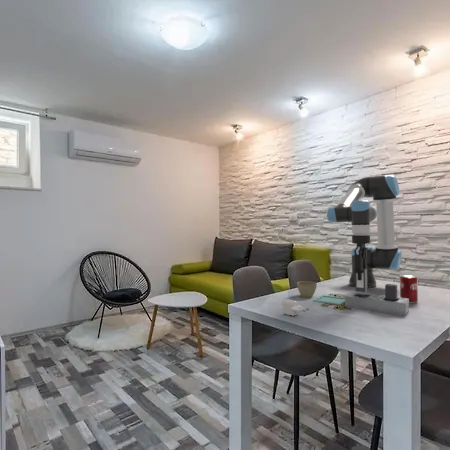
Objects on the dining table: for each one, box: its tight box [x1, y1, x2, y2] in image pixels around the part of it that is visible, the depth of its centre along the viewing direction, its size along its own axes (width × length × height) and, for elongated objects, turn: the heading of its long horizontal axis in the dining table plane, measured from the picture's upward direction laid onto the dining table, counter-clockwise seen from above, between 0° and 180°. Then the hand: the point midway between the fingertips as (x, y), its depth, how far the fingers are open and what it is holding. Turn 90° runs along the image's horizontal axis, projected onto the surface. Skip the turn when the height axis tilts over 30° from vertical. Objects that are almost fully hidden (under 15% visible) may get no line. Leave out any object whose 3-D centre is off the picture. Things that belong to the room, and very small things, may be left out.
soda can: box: [399, 274, 419, 304], centre depth 151 cm, size 7×7×12 cm
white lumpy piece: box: [281, 299, 310, 317], centre depth 131 cm, size 11×5×6 cm, turn 43°
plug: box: [355, 269, 368, 293], centre depth 143 cm, size 4×4×10 cm
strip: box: [344, 283, 410, 317], centre depth 144 cm, size 20×24×11 cm
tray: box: [312, 294, 345, 306], centre depth 155 cm, size 13×13×1 cm
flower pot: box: [296, 281, 318, 298], centre depth 164 cm, size 10×10×7 cm
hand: (361, 286), depth 143 cm, fingers closed on plug, 4 cm apart
